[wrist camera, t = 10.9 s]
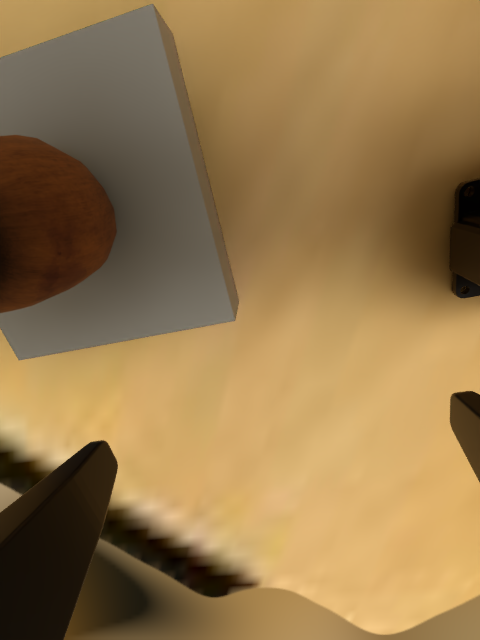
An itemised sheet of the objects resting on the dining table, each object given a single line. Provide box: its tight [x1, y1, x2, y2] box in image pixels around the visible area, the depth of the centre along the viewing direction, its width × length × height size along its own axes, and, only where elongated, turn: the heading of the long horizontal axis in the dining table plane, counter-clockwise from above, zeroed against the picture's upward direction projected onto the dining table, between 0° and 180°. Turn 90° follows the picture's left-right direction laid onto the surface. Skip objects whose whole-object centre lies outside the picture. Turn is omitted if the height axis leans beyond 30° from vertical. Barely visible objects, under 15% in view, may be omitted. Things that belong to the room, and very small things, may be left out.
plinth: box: [0, 4, 239, 360], centre depth 18 cm, size 14×14×3 cm
